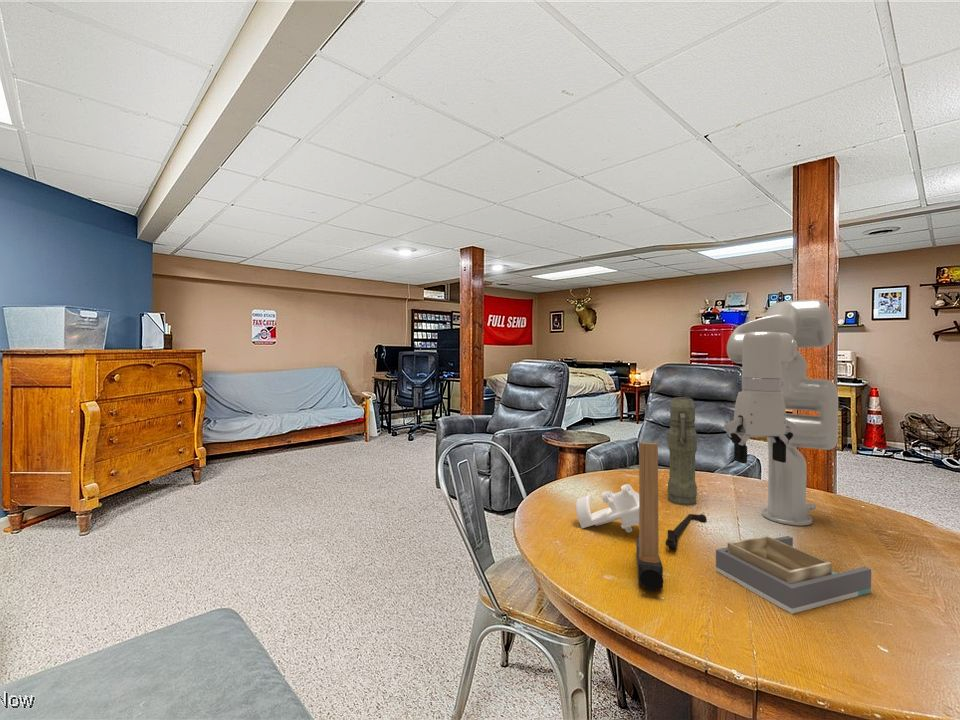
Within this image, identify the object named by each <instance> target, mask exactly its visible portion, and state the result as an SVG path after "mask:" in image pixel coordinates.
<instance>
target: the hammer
mask: <svg viewBox="0 0 960 720" xmlns="http://www.w3.org/2000/svg"><path fill="white" fill-rule="evenodd" d="M638 464H639V465H638V475H639V476H638V478H639V479H638V484H639V485H638V488H639V490H638V493H639V524H638V525H639V527H638V528H639V530H638V534H639V535H638V538H635V545H636V565H637V577H638V579H637V580H638V585H640V586H643V588H645V589H647V590H648V591H654V592H655V591H658V590H660V589H661V588H662V589H663V588H664V570H663V568H664V566H663V564H662V562H661V557H660V549H659V548H660V547H659V545H660V544H659V543H660V541H659V534H660V532H659V530H660V529H659V444H658V443H655V442H643V441H642V442H640V441H639V442H638Z"/></svg>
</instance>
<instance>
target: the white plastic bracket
mask: <svg viewBox="0 0 960 720" xmlns="http://www.w3.org/2000/svg"><path fill="white" fill-rule="evenodd" d="M620 487H621V488H620V489H621V490H620V491H618V492H615V493H613V492H612V490H606V491H603V492H602V493H601V497H602V498H601V499H602V501H603V502H604V504H608V505H609V507H606V508H603V509H600V510H597V511H595V512H592V511H591V507H590V503H591V502H590V500H591V498H592V496H591V494H589V493H588V494H585V495H582V496H579V497H577V499H576V502H575V513H576V517H577V520H578V522H579V525H580V527H581V529H584V528H587V527H591V526H594V525H595V527H598V526H600V525H604V524H608V523H612V522H615V521H620V522H621V524H620V527H621V529H622V530H623V529H624V531H625V532H626V533H632V531H633V528H632V526H637V525H639V492H637V491H636V490H634V489H633V487H632V485H631V484H629V483H625V484H623V485H621V486H620ZM591 512H592V513H591Z"/></svg>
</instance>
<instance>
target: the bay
mask: <svg viewBox="0 0 960 720" xmlns="http://www.w3.org/2000/svg"><path fill="white" fill-rule="evenodd" d="M773 539H775V540H778V541H780V542H783V543H785V544H787V545H790V546H792V547H794V537H792V536H790V535H785V536H781V537H774V538H773ZM727 548H728V546H727V547H723V548H718V549H715V572H717V571H718V572H720V573H721V575H722V574H723V575H722V576H724V577H726V578H727V577H728V579H729V578H730V579H729V580H731V579H732V581H733V580H734V581H736V582H737V583H736V582H735V583H736V584H738V583H739V584H738V585H740V584H741V585H742V586H741V585H740V586H741V587H743V586H744V587H743V588H745V589H747V590H749V591H750V592H752V593H754V594H756V595H758V596H759V597H761V598H763V599H765V600H766V601H767V602H770V603H771V604H773V605H775V606H777V607H779V608H781V609H783V610H784V611H786V612H787V613H789V614H791V615H793V614H797V613H801V612H804V611H808V610H812V609H814V608H819V607H823V606H827V605H830V604H834V603H839V602H841V601H844V600H845V599H846V600H848V599H853V598H856V597H860V596H864V595H868V594H871V593H872V568H870V567H866V566H863V567H862V566H861V567H858V568H853V569H850V570H844V571H840V572H836V571H833V570H832V575H828V576H823V577H819V578H815V579H811V580H807V581H802V582H798V583H794V584H789V583H787V582H785V581H783V580H781V579H779V578H777V577H775V576H773V575H771V574H769V573H767V572H765V571H763V570H761V569H759V568H757V567H755V566H753V565H751V564H749V563H747V562H745V561H743V560H741V559H739V558H737V557H735V556H733V555H731V554H729V553H727ZM718 572H717V573H718ZM720 573H719V574H720ZM734 581H733V582H734ZM867 593H868V594H867ZM863 594H864V595H863Z"/></svg>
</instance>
